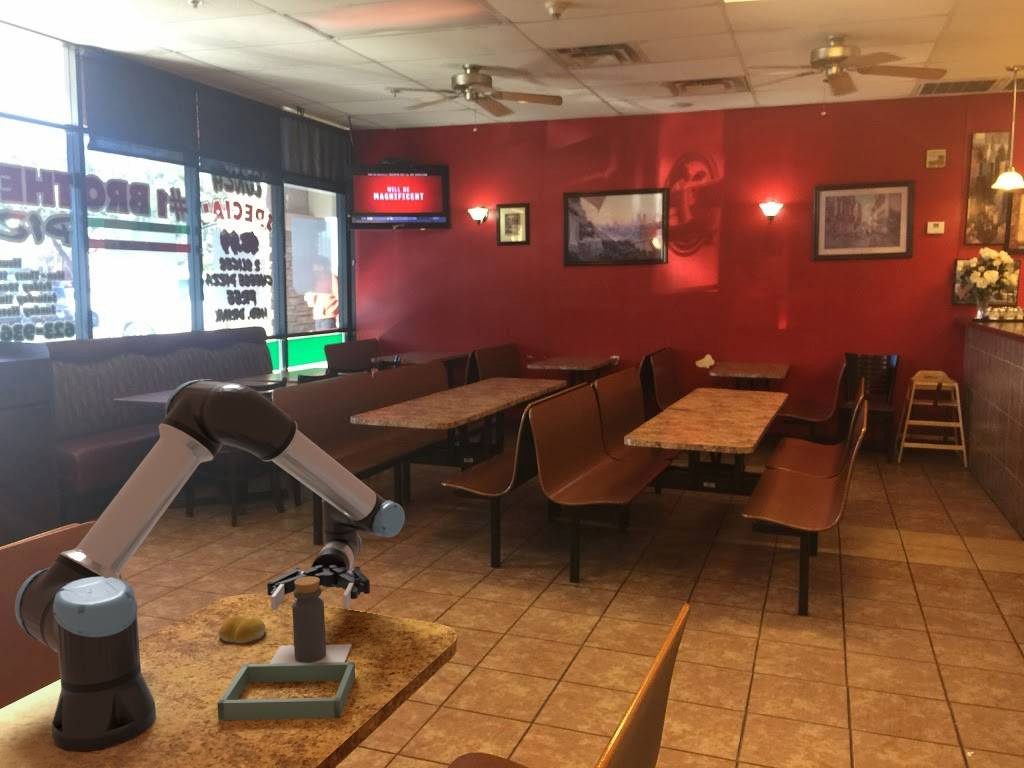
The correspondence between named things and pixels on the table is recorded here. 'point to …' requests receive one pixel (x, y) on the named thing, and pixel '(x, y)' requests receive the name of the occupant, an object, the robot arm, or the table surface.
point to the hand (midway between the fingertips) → (309, 602)
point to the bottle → (308, 620)
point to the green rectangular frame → (287, 707)
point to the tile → (332, 655)
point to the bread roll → (241, 629)
